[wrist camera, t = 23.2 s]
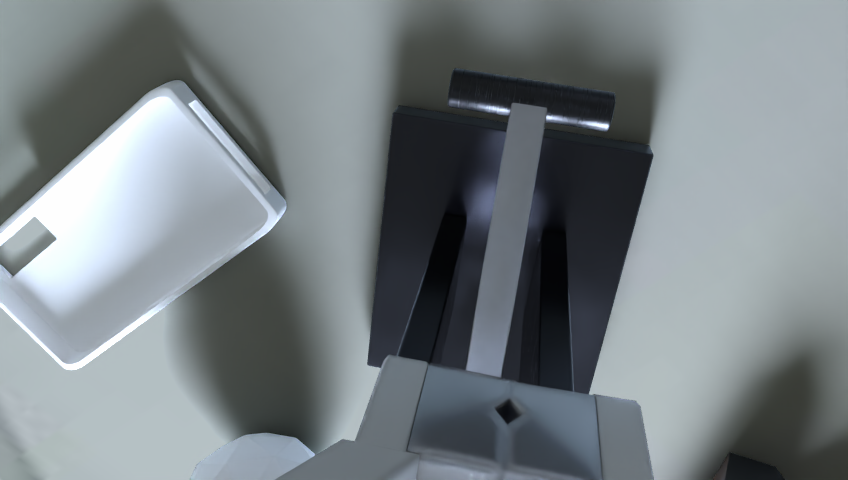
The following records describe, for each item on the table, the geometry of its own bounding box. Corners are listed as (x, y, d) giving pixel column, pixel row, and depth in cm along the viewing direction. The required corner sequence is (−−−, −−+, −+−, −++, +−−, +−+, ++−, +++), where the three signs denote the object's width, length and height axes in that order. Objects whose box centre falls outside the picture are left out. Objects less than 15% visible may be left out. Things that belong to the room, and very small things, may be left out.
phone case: (85, 360, 38) (294, 208, 32) (69, 375, 36) (283, 221, 31) (-25, 252, 36) (177, 71, 30) (-45, 265, 34) (161, 79, 29)
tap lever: (455, 81, 24) (452, 54, 22) (607, 105, 24) (622, 80, 21) (387, 448, 23) (377, 462, 21) (546, 480, 22) (555, 498, 20)
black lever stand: (397, 104, 29) (301, 240, 18) (650, 144, 28) (717, 314, 17) (372, 351, 35) (284, 578, 23) (584, 391, 34) (602, 647, 22)
